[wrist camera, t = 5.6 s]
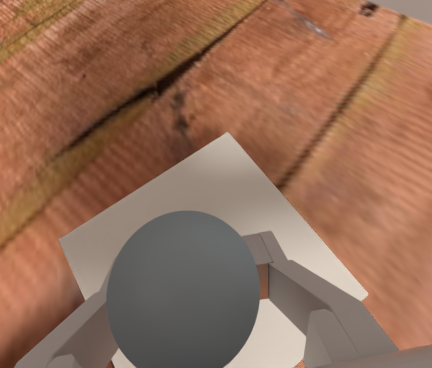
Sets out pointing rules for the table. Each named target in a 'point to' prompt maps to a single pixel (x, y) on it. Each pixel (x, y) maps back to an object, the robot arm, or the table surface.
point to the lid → (198, 266)
